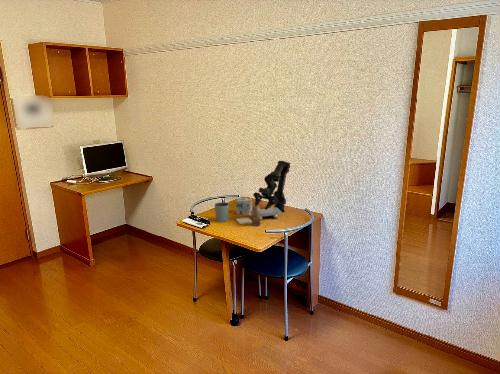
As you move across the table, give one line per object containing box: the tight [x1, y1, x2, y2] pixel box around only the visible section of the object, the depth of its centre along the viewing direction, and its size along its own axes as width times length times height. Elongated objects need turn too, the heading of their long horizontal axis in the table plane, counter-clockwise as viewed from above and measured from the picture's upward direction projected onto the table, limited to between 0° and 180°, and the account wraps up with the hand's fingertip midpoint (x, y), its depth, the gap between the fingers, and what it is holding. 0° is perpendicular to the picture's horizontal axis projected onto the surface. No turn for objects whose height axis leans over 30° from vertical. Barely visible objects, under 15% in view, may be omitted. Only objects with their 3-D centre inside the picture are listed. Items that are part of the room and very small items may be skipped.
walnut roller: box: [251, 205, 261, 227], centre depth 261 cm, size 5×5×13 cm
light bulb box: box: [235, 197, 253, 216], centre depth 286 cm, size 11×7×11 cm, turn 76°
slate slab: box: [250, 207, 283, 222], centre depth 276 cm, size 20×11×5 cm, turn 106°
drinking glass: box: [214, 201, 230, 223], centre depth 271 cm, size 10×10×12 cm
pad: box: [235, 216, 253, 225], centre depth 269 cm, size 9×9×1 cm
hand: (260, 208), depth 262 cm, fingers open, 9 cm apart
